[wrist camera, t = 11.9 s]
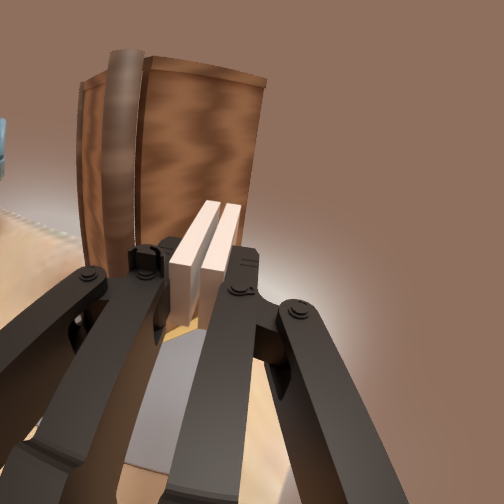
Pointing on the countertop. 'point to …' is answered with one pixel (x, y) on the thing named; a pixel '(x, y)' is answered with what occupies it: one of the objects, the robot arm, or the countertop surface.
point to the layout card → (165, 399)
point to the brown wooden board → (192, 145)
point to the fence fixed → (108, 161)
